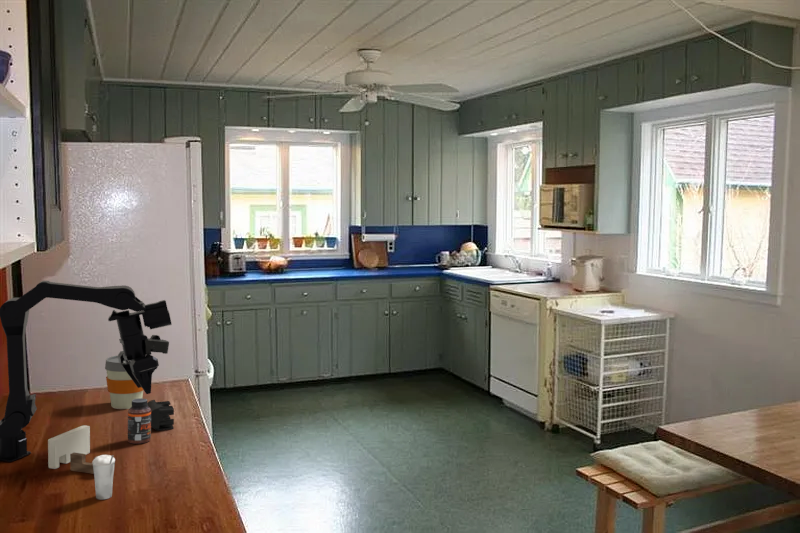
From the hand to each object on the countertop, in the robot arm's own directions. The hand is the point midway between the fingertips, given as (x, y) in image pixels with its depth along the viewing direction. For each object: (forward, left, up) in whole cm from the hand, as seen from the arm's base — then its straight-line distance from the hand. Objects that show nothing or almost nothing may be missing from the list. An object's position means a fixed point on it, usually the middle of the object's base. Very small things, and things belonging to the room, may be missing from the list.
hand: (144, 390), depth 186 cm
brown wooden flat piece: (0, -20, -15) cm, 25 cm away
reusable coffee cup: (-28, +31, -15) cm, 44 cm away
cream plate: (-10, -15, -15) cm, 24 cm away
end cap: (-6, +16, -15) cm, 23 cm away
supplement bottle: (-3, +3, -15) cm, 16 cm away
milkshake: (+13, -31, -15) cm, 37 cm away
